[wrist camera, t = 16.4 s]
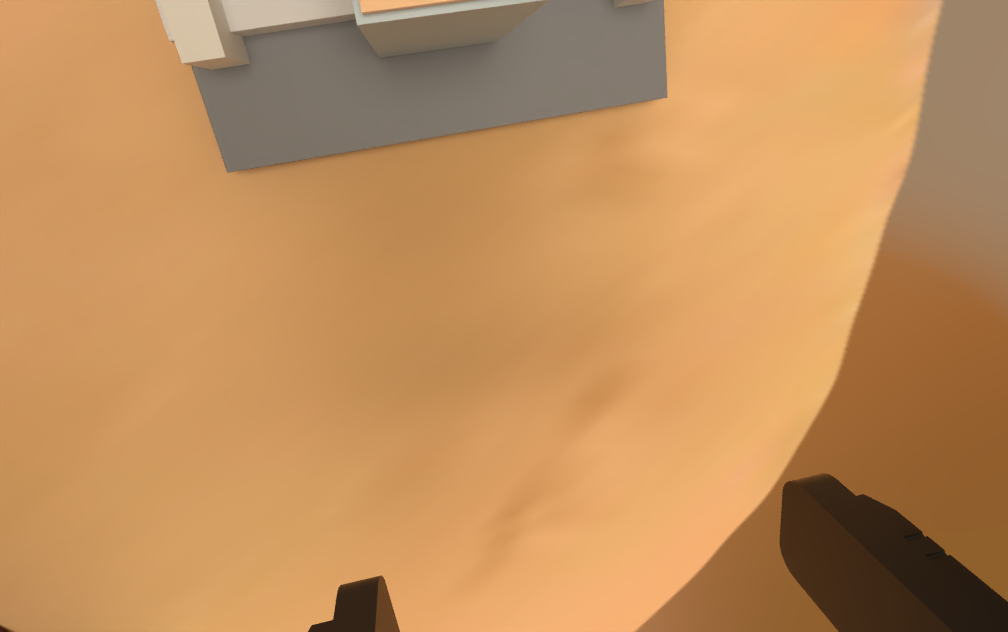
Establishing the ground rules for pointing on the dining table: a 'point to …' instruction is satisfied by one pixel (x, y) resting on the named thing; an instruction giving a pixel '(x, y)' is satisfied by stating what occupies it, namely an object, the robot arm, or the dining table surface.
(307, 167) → the dining table surface
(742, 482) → the dining table surface
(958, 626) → the robot arm
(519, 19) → the plate
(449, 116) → the mounting board
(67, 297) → the dining table surface
